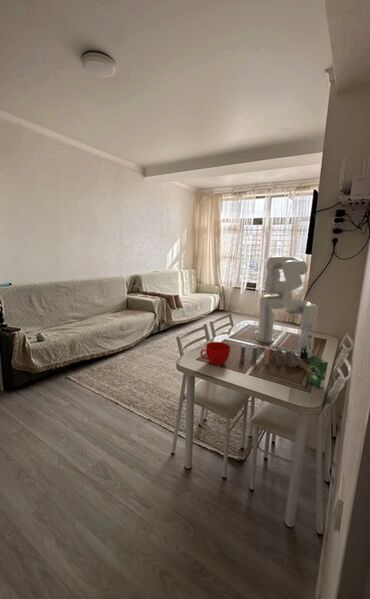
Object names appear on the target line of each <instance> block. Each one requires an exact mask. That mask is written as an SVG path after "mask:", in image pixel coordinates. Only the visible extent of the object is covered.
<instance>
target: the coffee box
mask: <svg viewBox="0 0 370 599" xmlns="http://www.w3.org/2000/svg"><path fill="white" fill-rule="evenodd" d="M309 359H310V361H309V367H308V374H307V380H306V381H307V382H309V383H310V384H312V385H314V386H315V387H317V388H319V389H323V388H324V386H325V382H326V381H325V380H326V376H327V370H328V364H329V362H328V361H326V360H324V359H322V358H320V357H318V356H317V355H312V356H311V358H309Z"/></svg>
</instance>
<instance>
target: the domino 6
mask: <svg viewBox="0 0 370 599" xmlns="http://www.w3.org/2000/svg"><path fill="white" fill-rule="evenodd" d="M290 351H291V357H292V358H293V360H294V361H295V363H297V365H298V366H299V367H300V369H303V368H305V365H304V363H303V362H302V359H301V358H300V357H299V356H297V354H296V353H295V351H294V350H290Z"/></svg>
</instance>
